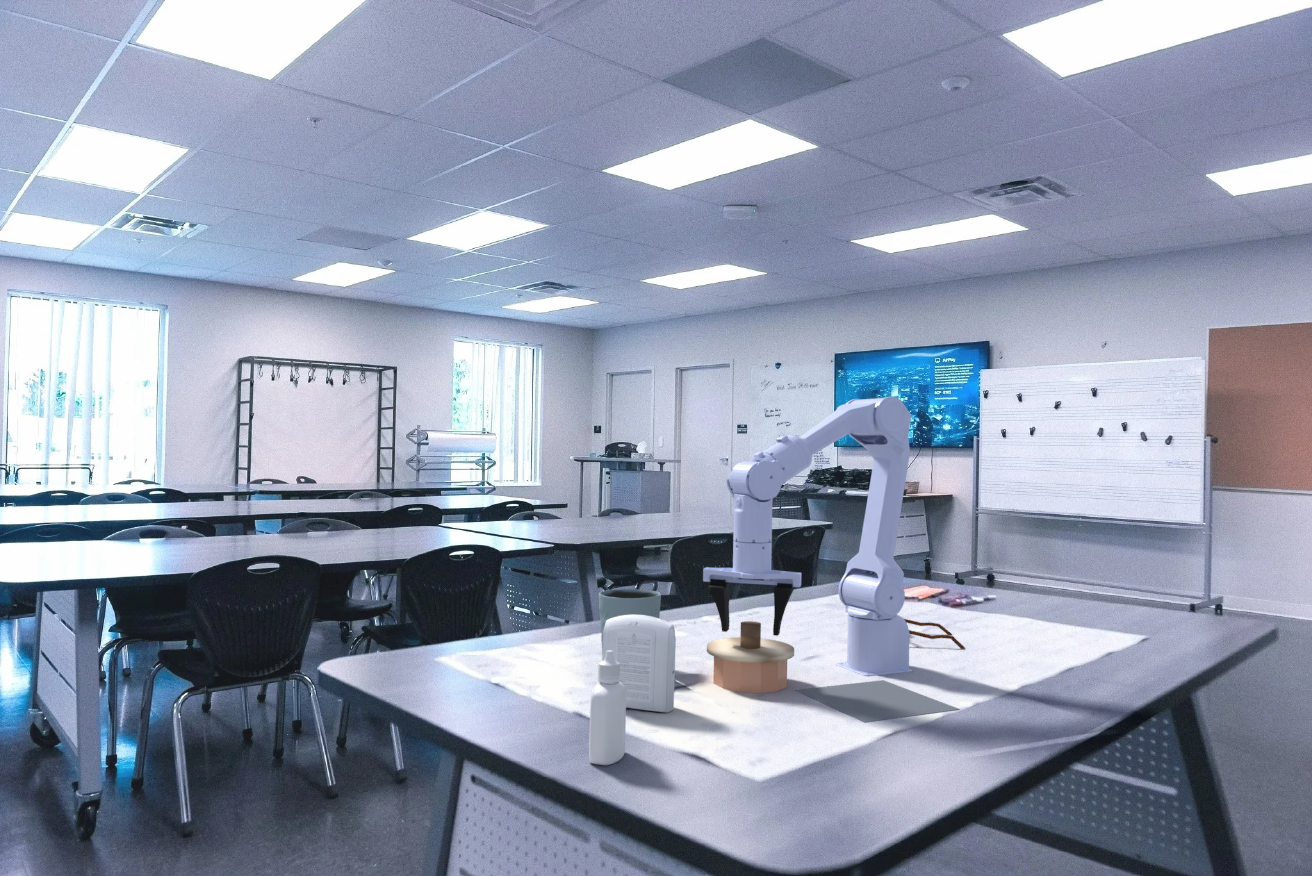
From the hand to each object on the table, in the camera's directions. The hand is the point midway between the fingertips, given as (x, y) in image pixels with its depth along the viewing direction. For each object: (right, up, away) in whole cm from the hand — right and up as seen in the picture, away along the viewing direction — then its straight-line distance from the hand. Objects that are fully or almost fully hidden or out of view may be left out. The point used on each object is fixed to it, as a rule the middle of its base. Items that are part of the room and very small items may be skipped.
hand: (750, 632), depth 130 cm
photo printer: (-17, -8, -12) cm, 22 cm away
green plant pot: (-19, -8, +9) cm, 22 cm away
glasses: (+37, -10, +36) cm, 52 cm away
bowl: (0, -8, 0) cm, 8 cm away
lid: (0, -3, 0) cm, 3 cm away
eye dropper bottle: (-20, -7, -32) cm, 38 cm away
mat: (+17, -8, -8) cm, 20 cm away
